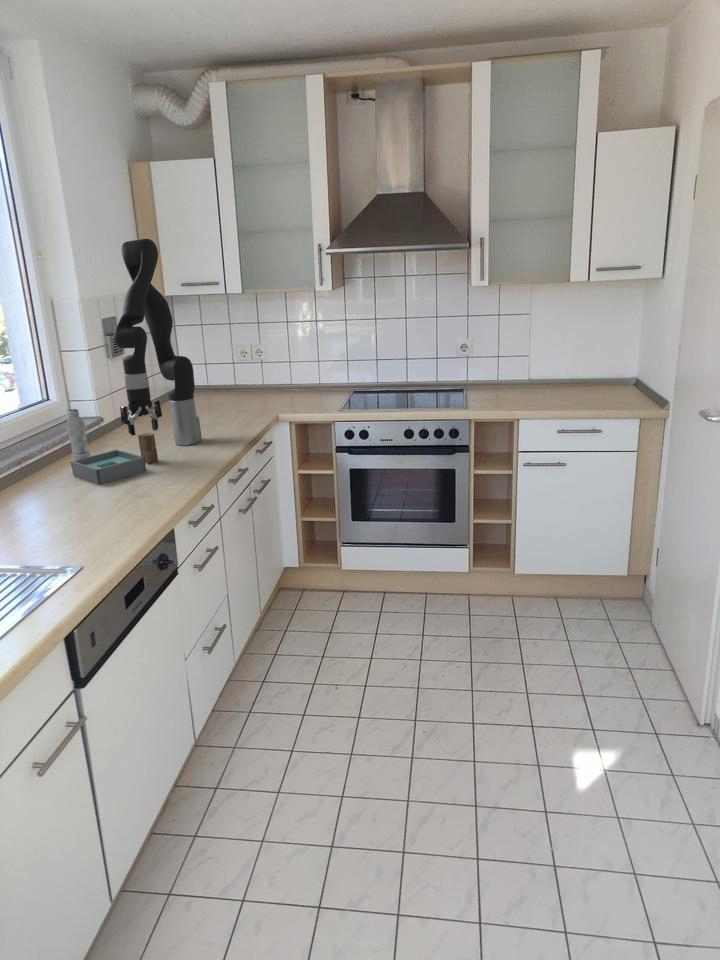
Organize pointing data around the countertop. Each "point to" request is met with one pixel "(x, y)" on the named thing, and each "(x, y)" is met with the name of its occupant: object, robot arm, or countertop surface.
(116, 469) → the box
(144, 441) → the peg
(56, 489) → the countertop surface
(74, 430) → the plastic bottle
